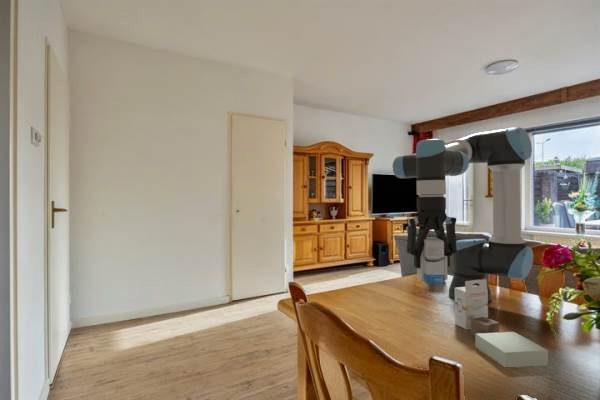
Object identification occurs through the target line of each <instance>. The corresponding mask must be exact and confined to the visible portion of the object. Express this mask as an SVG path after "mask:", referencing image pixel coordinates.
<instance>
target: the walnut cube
mask: <svg viewBox="0 0 600 400" xmlns="http://www.w3.org/2000/svg"><path fill="white" fill-rule="evenodd" d="M499 332H500V322H498V321H497V320H493V319H491V318H489V317H488V318H486V317H479V318H474V319H471V329H470V337H472V338H474V339H475V334H477V333H499Z"/></svg>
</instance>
